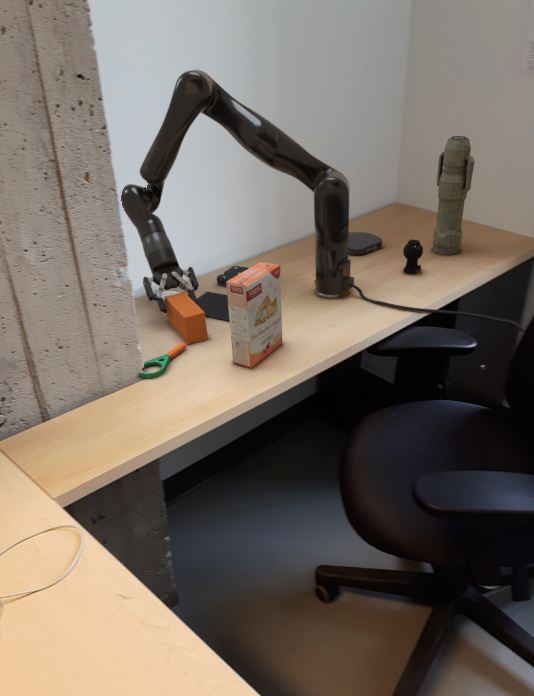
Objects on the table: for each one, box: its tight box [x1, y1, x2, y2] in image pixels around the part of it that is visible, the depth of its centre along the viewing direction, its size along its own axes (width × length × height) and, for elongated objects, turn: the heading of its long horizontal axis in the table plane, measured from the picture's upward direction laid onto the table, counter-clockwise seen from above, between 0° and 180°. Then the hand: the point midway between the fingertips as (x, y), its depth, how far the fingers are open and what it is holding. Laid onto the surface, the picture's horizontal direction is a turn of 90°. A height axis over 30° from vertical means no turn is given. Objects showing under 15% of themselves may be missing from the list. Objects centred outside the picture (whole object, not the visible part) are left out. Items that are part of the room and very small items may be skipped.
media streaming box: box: [348, 231, 383, 256], centre depth 203 cm, size 15×15×3 cm
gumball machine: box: [402, 237, 424, 275], centre depth 180 cm, size 7×6×10 cm
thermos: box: [432, 135, 475, 256], centre depth 187 cm, size 9×12×35 cm
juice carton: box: [163, 291, 209, 345], centre depth 155 cm, size 17×6×8 cm, turn 28°
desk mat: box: [196, 291, 230, 323], centre depth 167 cm, size 20×14×1 cm
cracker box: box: [226, 261, 283, 369], centre depth 139 cm, size 14×6×21 cm, turn 148°
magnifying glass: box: [138, 342, 187, 379], centre depth 142 cm, size 15×6×2 cm, turn 150°
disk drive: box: [216, 265, 250, 287], centre depth 181 cm, size 10×3×15 cm
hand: (180, 308), depth 157 cm, fingers open, 7 cm apart
